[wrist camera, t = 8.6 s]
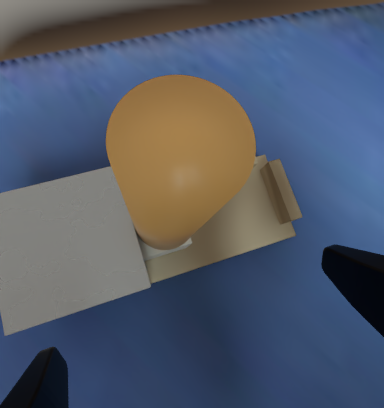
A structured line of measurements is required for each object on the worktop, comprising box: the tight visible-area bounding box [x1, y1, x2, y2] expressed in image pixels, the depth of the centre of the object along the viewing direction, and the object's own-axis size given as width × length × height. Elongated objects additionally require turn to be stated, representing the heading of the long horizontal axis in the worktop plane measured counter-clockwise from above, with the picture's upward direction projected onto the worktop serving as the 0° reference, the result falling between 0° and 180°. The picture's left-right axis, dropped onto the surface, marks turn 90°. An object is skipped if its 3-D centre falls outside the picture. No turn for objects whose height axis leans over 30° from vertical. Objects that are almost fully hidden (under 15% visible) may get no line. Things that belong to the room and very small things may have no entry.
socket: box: [0, 166, 151, 336], centre depth 16 cm, size 6×6×6 cm
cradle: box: [145, 155, 302, 284], centre depth 19 cm, size 10×6×2 cm, turn 108°
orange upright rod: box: [106, 75, 256, 261], centre depth 12 cm, size 8×3×12 cm, turn 108°
